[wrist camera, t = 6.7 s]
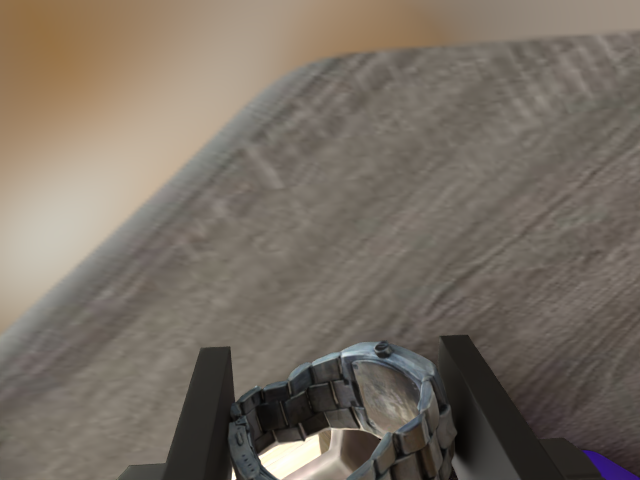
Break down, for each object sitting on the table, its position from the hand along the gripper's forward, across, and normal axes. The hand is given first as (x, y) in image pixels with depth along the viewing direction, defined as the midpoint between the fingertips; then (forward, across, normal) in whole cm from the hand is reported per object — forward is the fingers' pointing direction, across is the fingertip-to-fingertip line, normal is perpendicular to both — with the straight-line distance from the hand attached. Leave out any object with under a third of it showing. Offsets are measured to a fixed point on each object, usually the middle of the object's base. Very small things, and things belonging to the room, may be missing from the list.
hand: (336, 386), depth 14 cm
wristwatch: (+1, 0, 0) cm, 1 cm away
